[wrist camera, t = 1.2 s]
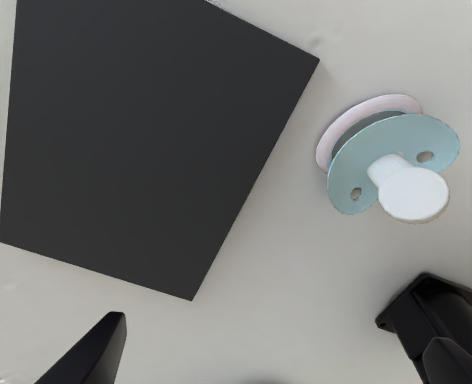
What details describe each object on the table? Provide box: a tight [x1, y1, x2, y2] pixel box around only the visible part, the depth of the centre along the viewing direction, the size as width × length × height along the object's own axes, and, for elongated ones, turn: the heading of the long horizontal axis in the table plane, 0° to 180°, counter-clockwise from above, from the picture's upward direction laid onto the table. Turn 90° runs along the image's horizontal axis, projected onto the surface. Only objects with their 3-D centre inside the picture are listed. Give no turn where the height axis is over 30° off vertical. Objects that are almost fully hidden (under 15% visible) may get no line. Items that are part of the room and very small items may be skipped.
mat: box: [0, 0, 320, 301], centre depth 19 cm, size 15×20×1 cm
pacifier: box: [316, 94, 460, 224], centre depth 16 cm, size 7×6×6 cm
